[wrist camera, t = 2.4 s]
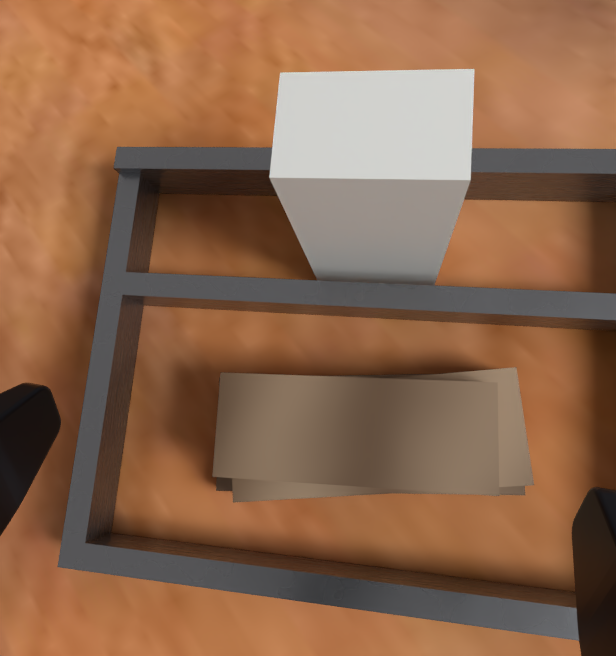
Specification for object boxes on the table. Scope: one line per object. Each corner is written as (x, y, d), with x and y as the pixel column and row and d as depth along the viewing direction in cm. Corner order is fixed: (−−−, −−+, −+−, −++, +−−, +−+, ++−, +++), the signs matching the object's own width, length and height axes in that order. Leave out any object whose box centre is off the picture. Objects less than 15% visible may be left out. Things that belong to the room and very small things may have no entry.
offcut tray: (85, 554, 22) (49, 570, 20) (142, 173, 25) (117, 146, 23) (675, 634, 19) (717, 665, 16) (660, 180, 22) (694, 149, 19)
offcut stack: (224, 494, 22) (195, 506, 19) (227, 378, 23) (200, 369, 20) (518, 498, 21) (545, 513, 17) (509, 373, 22) (533, 363, 18)
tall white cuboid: (318, 281, 23) (269, 177, 13) (323, 217, 24) (279, 72, 14) (433, 287, 22) (470, 180, 13) (436, 220, 23) (474, 69, 13)
